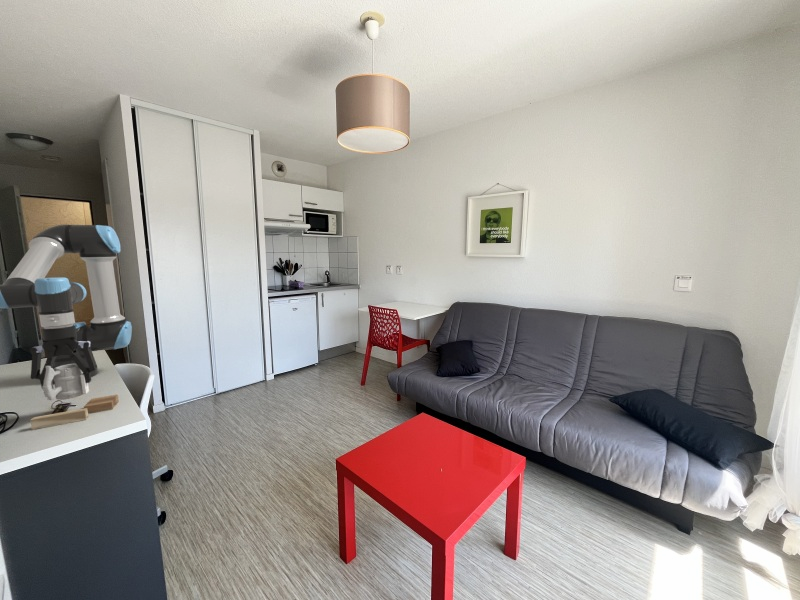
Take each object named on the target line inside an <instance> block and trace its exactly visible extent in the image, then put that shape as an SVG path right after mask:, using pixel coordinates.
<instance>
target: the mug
mask: <svg viewBox="0 0 800 600" xmlns="http://www.w3.org/2000/svg"><path fill="white" fill-rule="evenodd" d="M45 367H46V373H45V378H44V384H43V386H42V388H41V390H43V393H44V396H45V398H46V399H47V398H48V399H49V400H48V399H47V400H48V401H54V400H55V398H56V400H58V401H59V400H60V401H61V400H71V399H74V398H78V397H81V396H82V395H84V394H83V390H82V383H81V376H80V375H81V374H82V373H83V372H82V371H81V369H80V368H79V367H78V366H77V364H68V365H62V366H59V367H56V368H54V369H53V368H51V366H45ZM52 380H54V381H55V383H54V390H53V389H52V386H51V381H52Z"/></svg>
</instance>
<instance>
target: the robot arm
mask: <svg viewBox="0 0 800 600" xmlns="http://www.w3.org/2000/svg"><path fill="white" fill-rule="evenodd" d="M121 247H122V246H121V243H120V239H119V237H118V235H117V232H116V230H114V228H113V227H111V226H108V225H101V224H97V225H96V224H60V225H59V224H58V225H57V224H56V225H54V226H51V227H48V228H46V229H44V230H42V231H40V232H38V233H37V234H36V235H35V236H33V237H32V238H31V239H30V241H29V243H28V250H27V251H26V253H25V254H24V255H23V257H22V258H21V259H20V261H19V262H18V264H17V265H16V266H15V268H14V269H13V270H12V272H11V273H10V275H9V276H8V277H7V279H6V280H5V281H4V282H3V283H2V284H0V309H7V310H8V309H17V308H20V309H21V308H33V307H38V309H37V310H38V317H39V322H40V327H41V328H42V329H41V334H42V336H41V337H42V341H43V342H42V344H41V345H39V346H38V345H35V346H33V347H31V348H29V352H30V355H31V368H30V379H31V380H39V381H40V386H41V389H42V386H43V384H44V378H45V373H46V367H45V366H51V368H53V369H54V368H56V367H59V366H62V365H68V364H77V366H78V367H79V368H80V369H81V371H82V372H83V373H82V374H81V375H80V376H81V383H82V390H83V395H86V394H88V393H89V392H90V389H89V388H90V387H89V384H90V383H91V382H92V377H93V376H96V375H98V373H99V370H98V364H97V362H96V359H95V356H94V353H93V352H99V351H107V350H117V349H123V348H126V347H128V346H129V344H130V343H131V340H132V332H133V331H132V330H133V326H132V322H131V321H128V320H126V317H125V316H123V315H122V314H121V311H120V303H119V297H118V288H117V282H116V276H115V275H116V274H115V269H114V260H115V259H116V258H117V254H120V253H121ZM67 254H78V255H79V258H80V259H81V260H82V261H84V262H85V266H86V272H87V279H88V280H87V281H88V284H89V286H88V287H89V291H90V297H91V298H90V299H91V303H92V310H93V318H92V319H91V320H90V321H89V323H90V324H87V323H86V321H80V322H76V319H75V313H74V306H73V305H75V304H79V303H80V302H82V301H84V299H86V298H87V290H86V287H84V285H83V284H81V283H78V282H74V281H69V278H67V277H46V276H47V275H48V273H49V272H50V270H51V268H52V266H53V265H54V264H55V262H56V260H57V259H60V258H61V257H62V256H64V255H67ZM43 351H46V352H47V353H48V355H47V357H46V361H45V363H44V366H43V368H42V370H41V366H42V363H41V362H42V352H43ZM54 384H55V381H54V380H52V381H51V386H52V389H53V390H54V389H55V387H54ZM46 399H47V401H50V400H49V399H48V398H47V397H46Z"/></svg>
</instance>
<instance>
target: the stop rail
mask: <svg viewBox="0 0 800 600" xmlns="http://www.w3.org/2000/svg"><path fill="white" fill-rule="evenodd" d="M88 418H89V414H88V411H87V408H84V407H83V408H80V409H73V410H68V411H63V412H62V411H61V412H55V413H51V414H47V415H46V414H45V415H40V416H35V417H32V418H31V419H30V420H29V421H30V426H31V430H38V429H42V428H48V427H55V426H60V425H64V424H65V425H66V424H70V423H71V424H72V423H76V422H80V421H86V420H87V419H88Z"/></svg>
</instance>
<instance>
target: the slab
mask: <svg viewBox="0 0 800 600" xmlns="http://www.w3.org/2000/svg"><path fill="white" fill-rule="evenodd" d="M118 403H119V394H112V395H106V396H100V397H93V398H91V399H90V400H88V401H87V402H86V403H85V404H84V406H83V409H84V408H87V411H88V415H89V414H94V413H100V412H106V411H112V410H114V408H115V407H116V405H117V404H118Z"/></svg>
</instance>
